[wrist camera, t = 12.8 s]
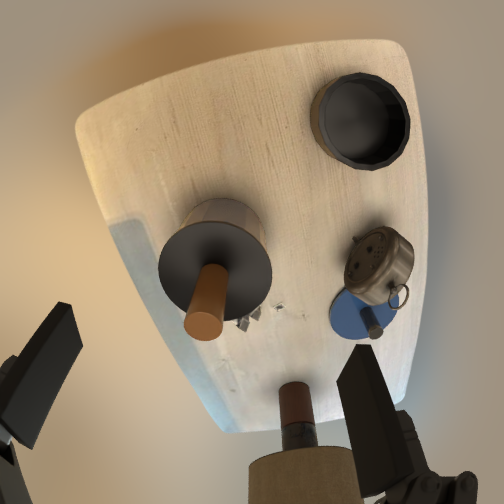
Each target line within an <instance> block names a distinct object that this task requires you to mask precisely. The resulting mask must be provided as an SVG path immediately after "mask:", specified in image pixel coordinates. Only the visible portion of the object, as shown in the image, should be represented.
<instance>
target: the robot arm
mask: <svg viewBox="0 0 504 504" xmlns="http://www.w3.org/2000/svg"><path fill="white" fill-rule="evenodd" d="M82 347H83V344H82V341H81V338H80V334H79V331H78V328H77V324H76V321H75V317H74V314H73V310H72V306H71V305H70V304H67V303H63V302H58V303H57V304H56V306H55V307H54V308H53V309H52V311H51V312H50V313H49V314H48V316H47V317H46V318H45V320H44V321H43V322H42V324H41V325H40V326H39V328H38V329H37V331H36V332H35V333H34V335H33V336H32V338H31V339H30V340H29V342H28V343H27V344H26V346H25V347H24V349H23V350H22V352H21V353H20V355H19V356H18V357H17V356H14V355H12V356H11V357H9V358H8V359H7V360H6V361H4V363H3V364H2V366H1V367H0V504H33V503H32V501H31V498H30V496H29V493H28V490H27V488H26V485H25V482H24V479H23V476H22V473H21V470H20V467H19V463H18V460H17V457H16V453H15V449H14V445H13V443H12V441H11V439H12V437H14V438H15V439H16V440H17V441H18V442H19V443H20V444H22V445H24V446H26V447H27V448H29V449H31V450H32V449H33V447H34V444H35V442H36V439H37V437H38V435H39V432H40V430H41V428H42V426H43V424H44V421H45V419H46V417H47V415H48V412H49V410H50V409H51V406H52V404H53V402H54V400H55V398H56V396H57V394H58V392H59V390H60V388H61V386H62V384H63V382H64V380H65V378H66V376H67V375H68V373H69V371H70V369H71V367H72V365H73V363H74V362H75V360H76V358H77V356H78V354H79V353H80V350H81V349H82ZM336 382H337V386H338V390H339V395H340V399H341V403H342V407H343V412H344V416H345V420H346V425H347V429H348V434H349V439H350V443H351V448H352V453H353V458H354V463H355V468H356V473H357V479H358V484H359V489H360V495H361V499H362V498H367V497H371V496H376V495H378V494H380V493H382V492H384V491H385V494H386V496H384V497H382V498H381V499H379V500H377V501H376V502H375V503H374V504H378V503H380V502H381V503H380V504H476V501H477V490H478V481H477V478H476V476H475V474H473V473H472V472H470V471H465V472H463V473H461V474H460V475H458V476H457V477H441V476H439V475H438V474H436V473H435V472H433V471H431V470H430V469H429V467H428V465H427V462H426V459H425V456H424V452H423V450H422V446H421V444H420V441H419V439H418V435H417V432H416V431H415V426H414V424H413V421H412V418H411V417H410V416H409V415H408V414H407V412H406V411H405V410H400V411H396V410H395V407H394V404H393V402H392V399H391V396H390V393H389V391H388V388H387V385H386V383H385V380H384V377H383V375H382V372H381V370H380V367H379V364H378V362H377V359H376V357H375V354H374V352H373V349H372V347H371V345H369V344H356V346H355V347H354V349H353V351H352V353H351V355H350V357H349V359H348V361H347V363H346V365H345V366H344V368H343V370H342V372H341V374H340V376H339V377H338V379H337V381H336Z"/></svg>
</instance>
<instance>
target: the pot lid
mask: <svg viewBox="0 0 504 504" xmlns="http://www.w3.org/2000/svg"><path fill="white" fill-rule="evenodd" d="M390 304H391V306H392V307H394V308H397V307H398V306H399V297H398V294H397V295H396V296H395V297H393V298H392V299H391V300H390ZM396 313H397V310H392V309H390V307H389V305H388V301H387V302H386V303H383V304H381V305H376V306H372V305H368V304H366V303H365V302H363V301H362V300H360V299H359V298H357V297H356V296H354V295H352V294H351V293H350V292H349V291H348V290H347V288H346V289H345V290H344V291H342V292H341V293H340V294H339V295H338V297H337V298H336V299H335V301H334V303H333V305H332V307H331V310H330V315H329V317H330V323H331V326H332V328H333V330H334V331H335V332H336V333H337V334H338V335H339V336H341V337H343V338H346V339H352V340H358V339H364V338H368V337H370V339H378V338H379V337H381V336H382V334H383V329H384V328H385V327H386V326H388V325H389V323H390V322H391V321H392V320H393V318H394V317H395V315H396Z"/></svg>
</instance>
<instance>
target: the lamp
mask: <svg viewBox="0 0 504 504" xmlns="http://www.w3.org/2000/svg"><path fill="white" fill-rule="evenodd" d="M279 404H280V419H281V431H282V432H281V433H282V448H283V451H281V452H276V453H273V454H269V455H266V456H264V457H261V458H259V459H257V460H255V461H254V462H253V463H251V464H250V466H249V496H248V498H249V499H248V504H364V499H363V498H362V499H361V495H360V489H359V484H358V479H357V473H356V468H355V463H354V458H353V453H352V450H350V449H348V448H344V447H339V446H318V441H317V434H316V428H315V421H314V415H313V408H312V402H311V396H310V390H309V387H308V385H306V384H305V383H302V382H292V383H288V384H285V385H284V386H282V387H281V388H280V390H279Z"/></svg>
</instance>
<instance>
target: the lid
mask: <svg viewBox="0 0 504 504" xmlns="http://www.w3.org/2000/svg"><path fill="white" fill-rule="evenodd" d="M158 271H159V278H160V282H161V284H162V287H163V289H164V291H165V293H166V294H167V296H168V297H169V298H170V300H171V301H172V302H173V303H174V304H175V305H176V306H178V307H179V308H180V309H181V310H183V311H184V312H186V317H185V320H184V328H185V330H186V332H187V333H188V334H189V335H190V336H191V337H193V338H195V339H197V340H201V341H211V340H214V339H216V338H217V337H219V336H220V334H221V333H222V328H223V321H230V320H234V319H238V318H241V317H243V316H245V315H247V314H249V313H251V312H252V311H254V310H255V309H256V308H257V307H258V306H260V304H261V303H262V302H263V301H264V299H265V298H266V296H267V294H268V292H269V290H270V287H271V282H272V267H271V262H270V259H269V256H268V254H267V252H266V250H265V248H264V247H263V245H262V244H261V243H260V242H259V241H258V240H257V238H256V237H254V236H253V235H252V234H251V233H249V232H248V231H246V230H245V229H243V228H241V227H239V226H237V225H234V224H231V223H228V222H223V221H214V220H209V221H200V222H195V223H193V224H190V225H187V226H185V227H183V228H181V229H180V230H179V231H177V232H176V233H175V234H174V235H173V236H171V238H170V239H169V240H168V241H167V243H166V244H165V246H164V248H163V250H162V252H161V255H160V258H159V265H158Z"/></svg>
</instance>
